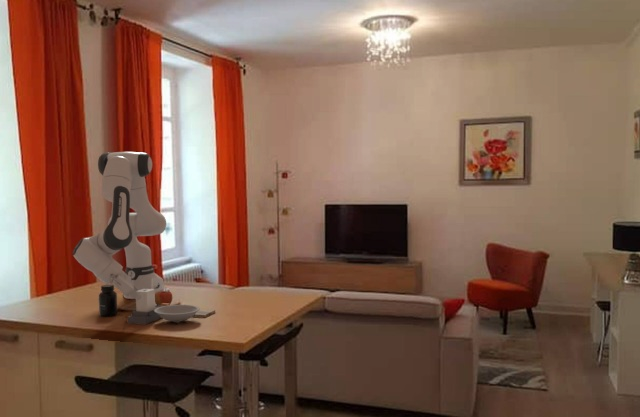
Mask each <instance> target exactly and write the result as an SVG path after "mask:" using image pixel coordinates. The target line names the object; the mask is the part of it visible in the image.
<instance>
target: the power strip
mask: <svg viewBox="0 0 640 417" xmlns="http://www.w3.org/2000/svg"><path fill="white" fill-rule="evenodd" d="M168 305H171V304H170V303H162V304H161V305H159V304H158V305H156V304H155V309H156V308H159V307H162V306H168ZM155 309H154V310H155ZM154 310H152V311H149V312H140V311H136V309H134V310H131V315H128V316H127V324H131V325H134V324H135V325H148V324H150V323H152V322H154V321H157V320H160V319H162V318H161V317H160V316H159V315H158V314H157V313H155V312H154Z"/></svg>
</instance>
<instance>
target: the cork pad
mask: <svg viewBox="0 0 640 417" xmlns="http://www.w3.org/2000/svg"><path fill="white" fill-rule="evenodd" d="M215 313H216V310H215V309H203V308H200V310H199V311H197V312H196V314H195V315H194V316H192V317H191V318H202V319H203V318H207V317H209V316H212V315H213V314H215Z"/></svg>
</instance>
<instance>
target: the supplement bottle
mask: <svg viewBox="0 0 640 417" xmlns="http://www.w3.org/2000/svg"><path fill="white" fill-rule="evenodd" d="M100 289H101V290H100V293H98V309H99V316H100V317H101V318H102V317H103V318H108V317H114V316H117V314H118V295H117V294H118V293H117V292H116V291H114V290H115V286H114V285H111V284H107V285H106V284H101V286H100Z"/></svg>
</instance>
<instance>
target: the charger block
mask: <svg viewBox="0 0 640 417" xmlns="http://www.w3.org/2000/svg"><path fill="white" fill-rule="evenodd" d="M136 292H137V293H138V294H140V295H141V299H140V300H137V299H135V307H136V308H135V310H136V311H140V312H149V311H152V310H154V309H155V306H156V303H155V289H141V290H138V291H136Z"/></svg>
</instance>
